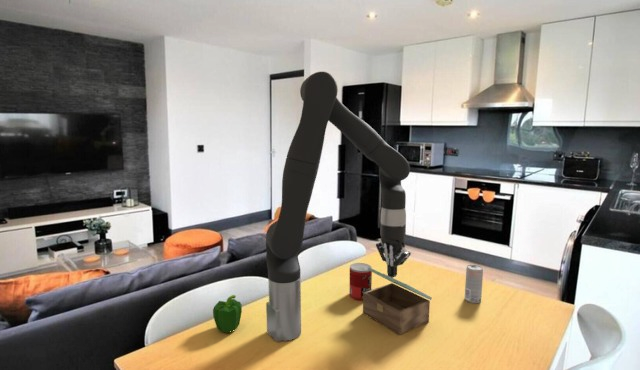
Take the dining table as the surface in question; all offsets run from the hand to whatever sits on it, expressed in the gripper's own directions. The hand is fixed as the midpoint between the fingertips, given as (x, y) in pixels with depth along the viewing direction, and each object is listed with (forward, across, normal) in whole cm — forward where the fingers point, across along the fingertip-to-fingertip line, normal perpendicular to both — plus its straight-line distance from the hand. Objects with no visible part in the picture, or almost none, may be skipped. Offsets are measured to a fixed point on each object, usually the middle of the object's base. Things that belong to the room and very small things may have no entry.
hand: (392, 276), depth 114 cm
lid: (+3, 0, +3) cm, 4 cm away
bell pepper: (+14, -24, -44) cm, 52 cm away
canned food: (+14, -18, +3) cm, 23 cm away
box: (+14, 0, +2) cm, 14 cm away
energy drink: (+15, +7, +33) cm, 36 cm away
